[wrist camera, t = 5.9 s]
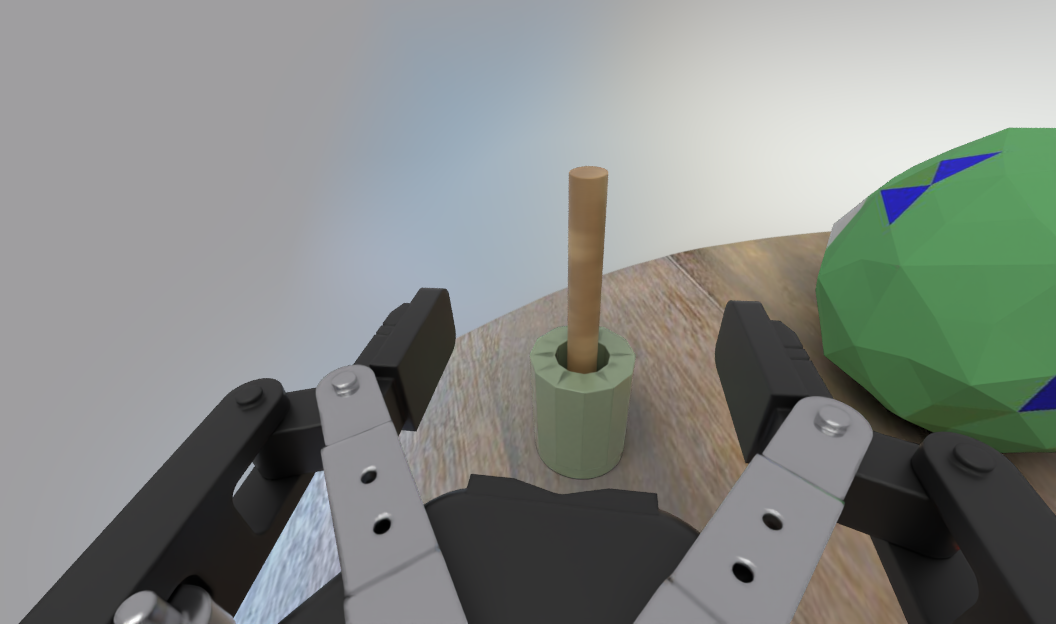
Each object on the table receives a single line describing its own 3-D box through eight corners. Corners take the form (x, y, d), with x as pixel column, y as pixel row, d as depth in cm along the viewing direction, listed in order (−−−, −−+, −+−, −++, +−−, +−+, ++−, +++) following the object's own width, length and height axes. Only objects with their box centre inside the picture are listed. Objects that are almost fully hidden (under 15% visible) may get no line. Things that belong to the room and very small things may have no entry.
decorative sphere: (1017, 486, 32) (1243, 620, 16) (764, 336, 42) (738, 320, 26) (1237, 267, 28) (1871, 132, 11) (898, 157, 38) (972, -1, 21)
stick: (563, 438, 30) (564, 176, 19) (570, 419, 31) (573, 165, 21) (589, 444, 29) (604, 178, 19) (595, 424, 30) (611, 166, 20)
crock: (524, 466, 29) (516, 379, 25) (549, 400, 34) (547, 318, 29) (616, 490, 27) (627, 401, 23) (629, 417, 32) (640, 332, 28)
